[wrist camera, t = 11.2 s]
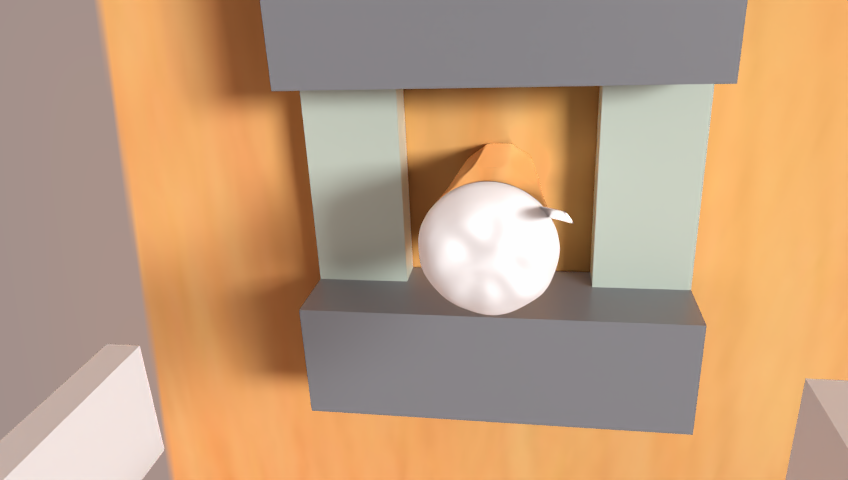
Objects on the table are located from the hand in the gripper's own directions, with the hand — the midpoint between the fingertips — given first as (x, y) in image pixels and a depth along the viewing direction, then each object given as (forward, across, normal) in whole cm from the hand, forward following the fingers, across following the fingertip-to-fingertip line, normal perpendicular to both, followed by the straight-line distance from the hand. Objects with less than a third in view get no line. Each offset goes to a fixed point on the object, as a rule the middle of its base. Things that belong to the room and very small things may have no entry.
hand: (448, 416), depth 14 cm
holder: (+17, 0, 0) cm, 17 cm away
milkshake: (+17, 0, 0) cm, 17 cm away
